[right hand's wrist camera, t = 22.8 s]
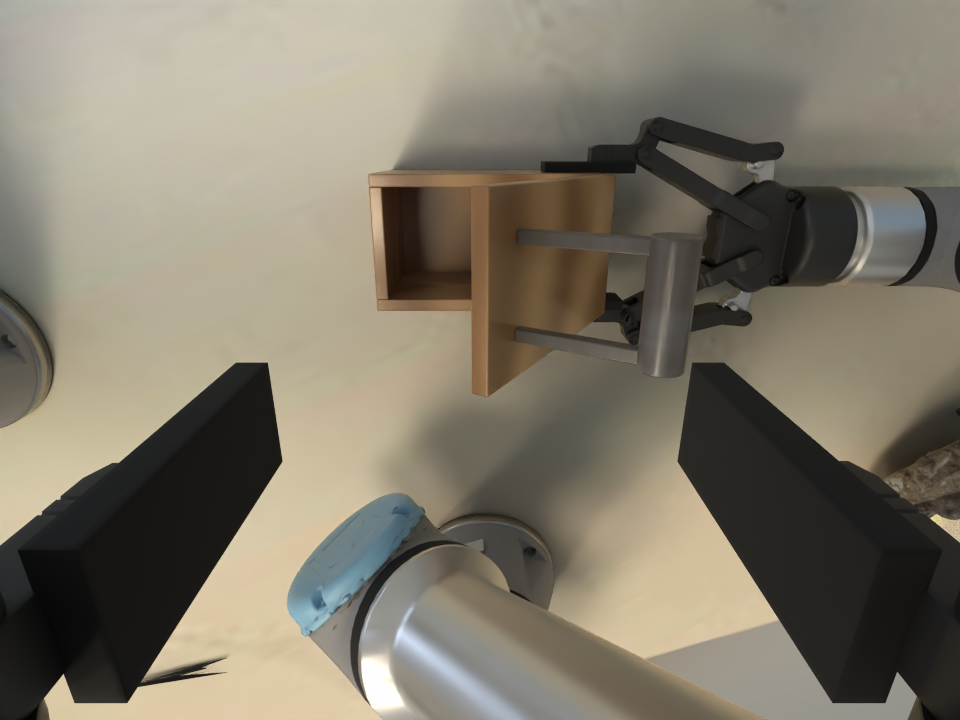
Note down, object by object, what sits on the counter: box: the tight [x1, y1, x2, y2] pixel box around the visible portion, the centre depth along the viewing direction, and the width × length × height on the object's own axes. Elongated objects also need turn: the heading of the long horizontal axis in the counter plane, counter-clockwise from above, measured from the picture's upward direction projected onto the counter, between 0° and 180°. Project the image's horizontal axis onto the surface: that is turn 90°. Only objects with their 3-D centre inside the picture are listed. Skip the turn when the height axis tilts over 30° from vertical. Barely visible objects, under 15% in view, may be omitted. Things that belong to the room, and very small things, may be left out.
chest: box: [368, 170, 604, 311], centre depth 43 cm, size 16×10×11 cm, turn 90°
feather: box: [138, 658, 227, 687], centre depth 67 cm, size 2×28×2 cm
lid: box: [471, 174, 704, 397], centre depth 29 cm, size 17×10×9 cm
